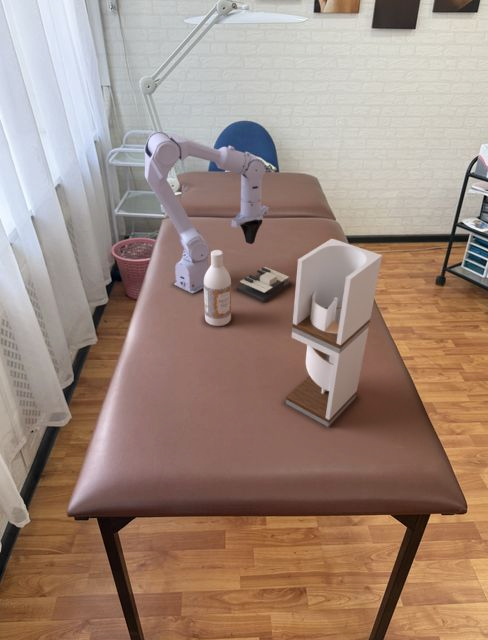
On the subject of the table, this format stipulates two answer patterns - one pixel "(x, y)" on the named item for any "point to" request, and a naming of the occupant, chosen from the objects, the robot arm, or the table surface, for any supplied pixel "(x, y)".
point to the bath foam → (217, 292)
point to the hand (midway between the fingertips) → (249, 242)
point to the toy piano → (261, 295)
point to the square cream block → (268, 278)
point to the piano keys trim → (262, 287)
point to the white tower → (332, 325)
